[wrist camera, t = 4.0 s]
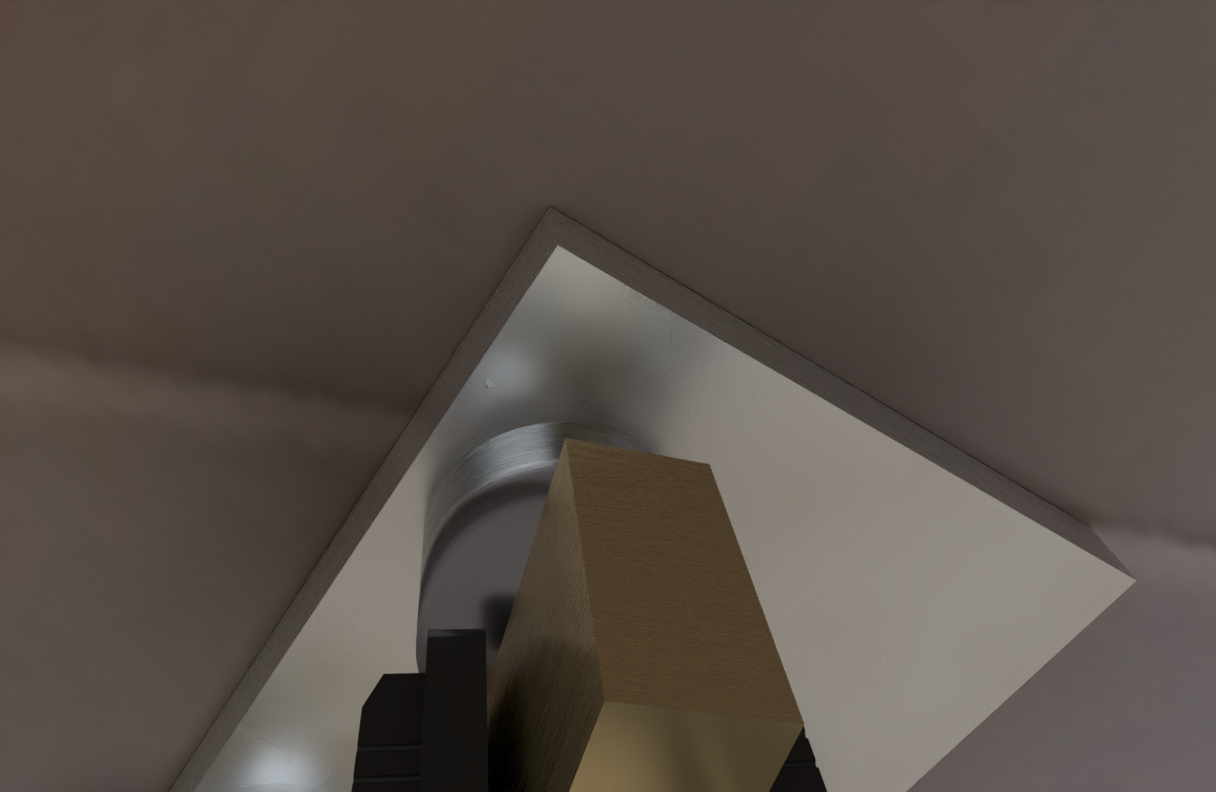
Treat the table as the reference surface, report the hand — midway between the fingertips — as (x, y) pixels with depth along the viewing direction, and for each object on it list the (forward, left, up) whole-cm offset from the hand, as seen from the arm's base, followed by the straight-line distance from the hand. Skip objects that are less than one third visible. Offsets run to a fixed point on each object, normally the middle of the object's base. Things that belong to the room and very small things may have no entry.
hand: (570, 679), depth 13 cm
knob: (0, 0, -3) cm, 3 cm away
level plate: (+6, +3, -5) cm, 8 cm away
